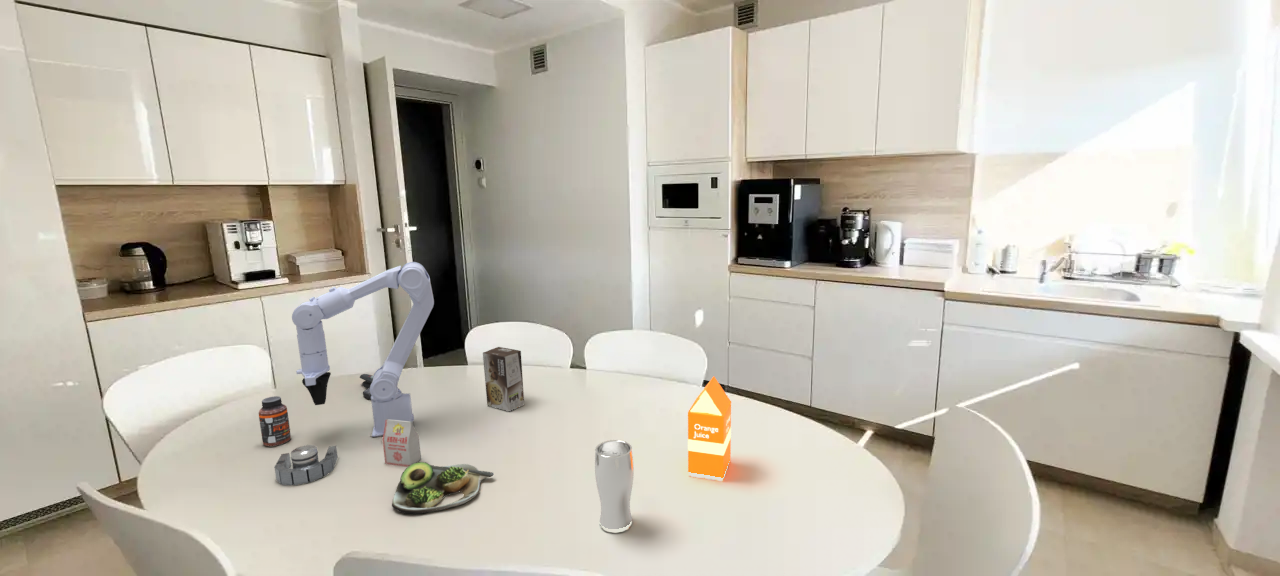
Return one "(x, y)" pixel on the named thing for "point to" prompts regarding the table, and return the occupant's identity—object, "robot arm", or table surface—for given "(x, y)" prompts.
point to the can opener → (367, 384)
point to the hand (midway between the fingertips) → (320, 403)
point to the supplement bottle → (274, 422)
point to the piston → (304, 456)
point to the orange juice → (709, 431)
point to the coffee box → (503, 378)
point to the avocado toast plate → (435, 486)
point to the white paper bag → (400, 443)
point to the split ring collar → (304, 469)
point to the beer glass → (614, 482)
